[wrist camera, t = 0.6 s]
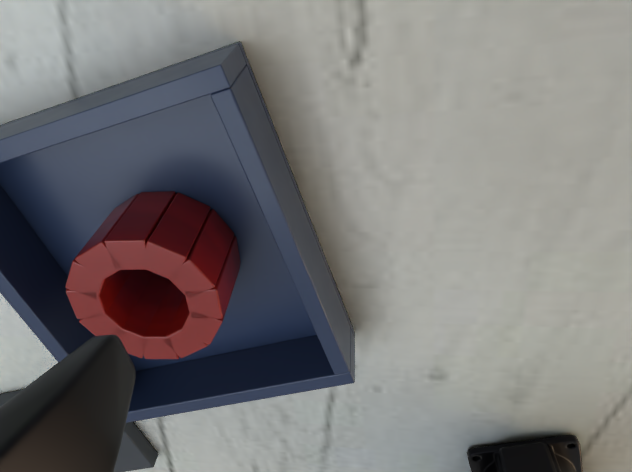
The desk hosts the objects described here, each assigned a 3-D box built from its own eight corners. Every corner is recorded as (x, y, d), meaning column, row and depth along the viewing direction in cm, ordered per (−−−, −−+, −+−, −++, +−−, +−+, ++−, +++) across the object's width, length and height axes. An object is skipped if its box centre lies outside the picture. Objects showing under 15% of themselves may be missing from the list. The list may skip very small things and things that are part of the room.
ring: (261, 287, 25) (247, 345, 22) (146, 313, 27) (116, 372, 23) (205, 173, 22) (178, 221, 19) (77, 210, 23) (31, 260, 20)
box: (355, 333, 27) (355, 383, 24) (134, 376, 30) (110, 425, 27) (240, 40, 19) (221, 64, 16) (-42, 139, 22) (-101, 173, 19)
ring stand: (158, 453, 34) (125, 548, 29) (59, 469, 36) (11, 560, 31) (95, 374, 30) (43, 467, 25) (-13, 396, 32) (-81, 487, 27)
